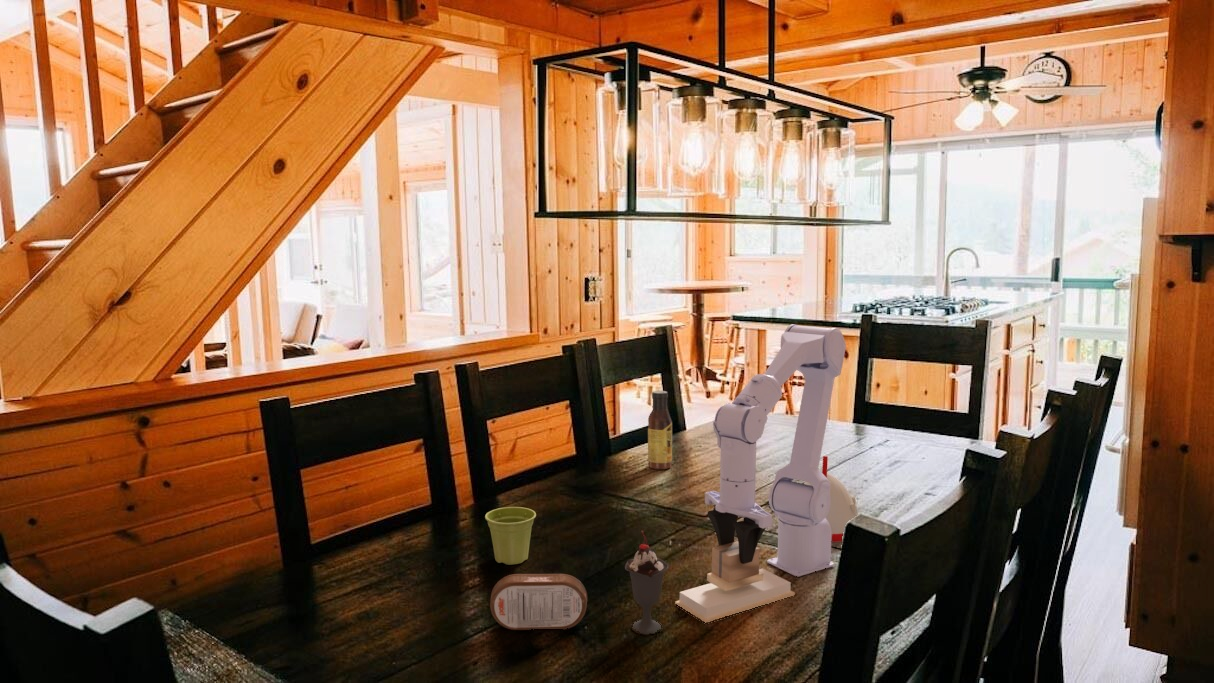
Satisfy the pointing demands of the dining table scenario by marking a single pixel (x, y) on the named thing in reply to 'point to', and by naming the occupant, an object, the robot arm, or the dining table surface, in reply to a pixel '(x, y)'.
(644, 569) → the sundae
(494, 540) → the plant pot
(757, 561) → the taped parcel
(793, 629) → the dining table surface
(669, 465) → the sauce bottle
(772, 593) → the dock
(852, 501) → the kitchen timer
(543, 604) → the tin
